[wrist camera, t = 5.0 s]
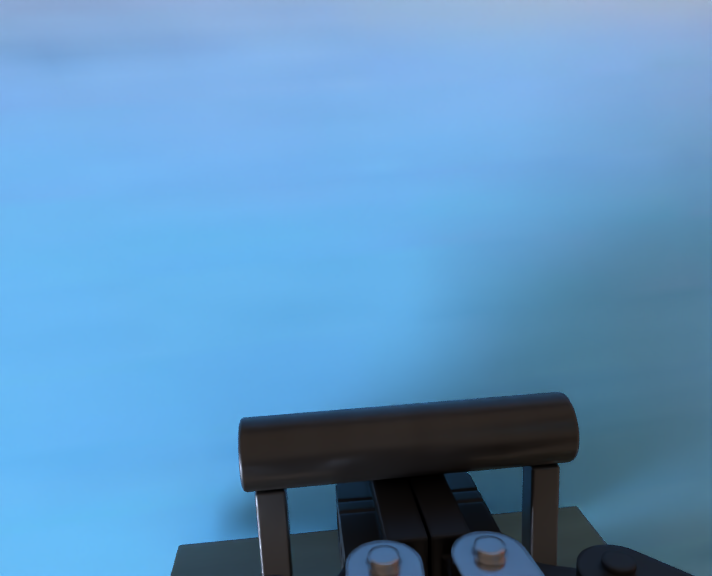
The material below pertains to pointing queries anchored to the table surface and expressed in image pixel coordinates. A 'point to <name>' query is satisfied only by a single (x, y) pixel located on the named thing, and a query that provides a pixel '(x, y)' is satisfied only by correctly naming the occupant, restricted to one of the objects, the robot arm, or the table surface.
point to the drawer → (399, 475)
